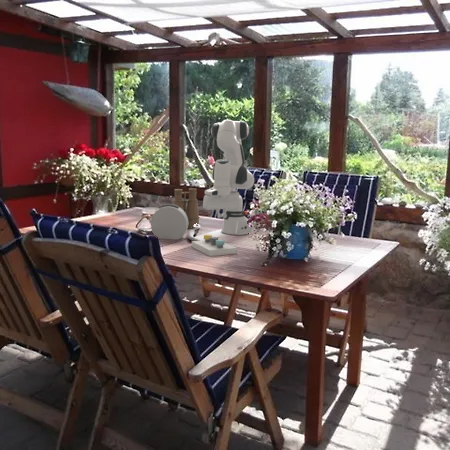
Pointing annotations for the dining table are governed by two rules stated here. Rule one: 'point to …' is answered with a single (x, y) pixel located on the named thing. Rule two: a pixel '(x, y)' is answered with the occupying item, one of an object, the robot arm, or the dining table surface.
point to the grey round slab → (169, 222)
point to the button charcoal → (213, 240)
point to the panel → (213, 248)
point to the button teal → (220, 243)
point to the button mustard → (207, 237)
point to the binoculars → (188, 205)
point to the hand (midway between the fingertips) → (221, 217)
